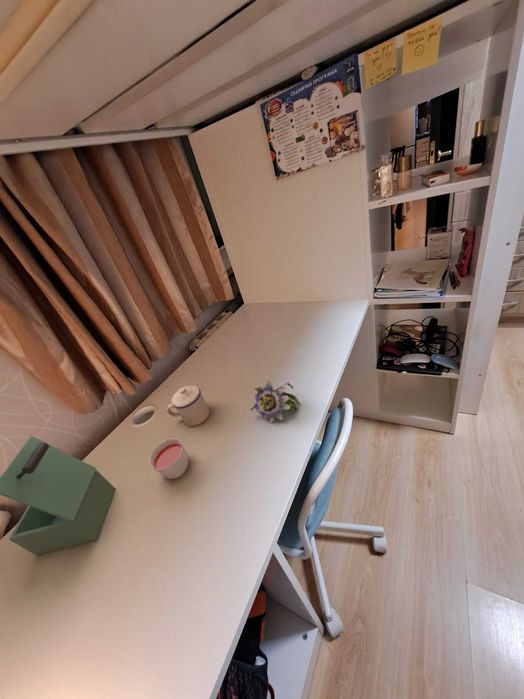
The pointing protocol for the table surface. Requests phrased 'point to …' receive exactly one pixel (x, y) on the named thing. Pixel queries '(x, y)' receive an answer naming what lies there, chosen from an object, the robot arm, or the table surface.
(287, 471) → the table surface
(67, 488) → the lid
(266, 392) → the passion flower
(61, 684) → the table surface
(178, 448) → the candle
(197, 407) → the teacup with lid
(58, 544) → the green box
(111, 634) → the table surface
